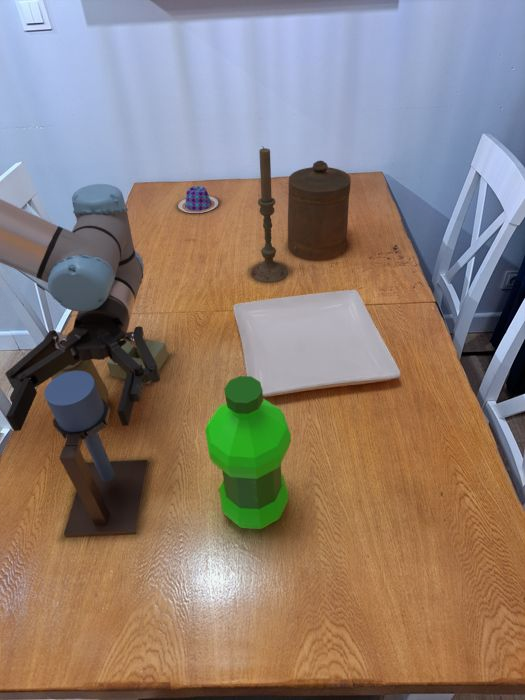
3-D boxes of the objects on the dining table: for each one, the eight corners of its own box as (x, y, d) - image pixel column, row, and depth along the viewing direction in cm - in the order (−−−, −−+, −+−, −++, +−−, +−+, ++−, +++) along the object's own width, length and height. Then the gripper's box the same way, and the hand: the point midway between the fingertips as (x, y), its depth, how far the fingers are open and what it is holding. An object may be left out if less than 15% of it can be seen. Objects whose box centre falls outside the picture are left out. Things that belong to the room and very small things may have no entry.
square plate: (251, 410, 85) (250, 395, 83) (233, 316, 106) (232, 302, 103) (400, 388, 88) (403, 373, 85) (355, 300, 108) (356, 286, 105)
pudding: (223, 199, 150) (221, 182, 147) (211, 216, 142) (209, 199, 138) (186, 196, 153) (184, 180, 149) (172, 214, 144) (169, 197, 140)
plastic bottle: (224, 476, 75) (205, 357, 59) (293, 481, 74) (293, 360, 58) (213, 538, 68) (187, 421, 51) (289, 544, 67) (287, 426, 50)
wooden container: (347, 234, 130) (353, 150, 116) (344, 264, 120) (351, 175, 105) (291, 232, 133) (291, 149, 118) (284, 260, 122) (282, 173, 107)
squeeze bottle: (64, 434, 83) (26, 356, 71) (68, 400, 89) (33, 322, 77) (112, 425, 84) (83, 347, 72) (113, 392, 90) (86, 314, 78)
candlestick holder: (253, 263, 122) (245, 138, 102) (290, 264, 120) (289, 138, 101) (247, 283, 115) (238, 154, 95) (286, 285, 114) (284, 154, 94)
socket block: (112, 377, 93) (106, 362, 90) (133, 350, 99) (128, 335, 96) (149, 386, 91) (145, 370, 88) (168, 358, 96) (165, 342, 94)
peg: (79, 487, 71) (33, 399, 59) (101, 455, 76) (63, 366, 63) (115, 498, 70) (75, 409, 57) (135, 464, 74) (103, 375, 62)
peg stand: (86, 467, 78) (51, 393, 67) (149, 463, 78) (125, 389, 66) (66, 538, 69) (21, 467, 58) (137, 535, 69) (106, 463, 57)
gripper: (188, 329, 78) (174, 435, 62) (33, 337, 78) (-21, 445, 62) (181, 290, 73) (164, 395, 57) (16, 298, 73) (-48, 405, 57)
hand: (68, 421), depth 59 cm, fingers open, 13 cm apart
